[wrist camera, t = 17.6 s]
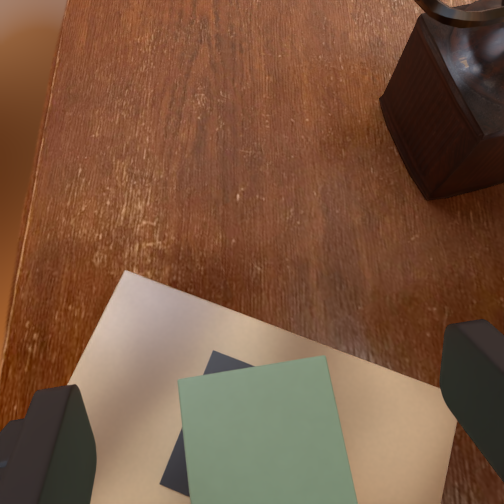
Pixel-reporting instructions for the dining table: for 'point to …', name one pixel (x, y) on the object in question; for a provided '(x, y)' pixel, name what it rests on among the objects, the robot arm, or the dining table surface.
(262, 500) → the green carton
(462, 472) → the dining table surface
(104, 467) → the shelf
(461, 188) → the coffee grinder
